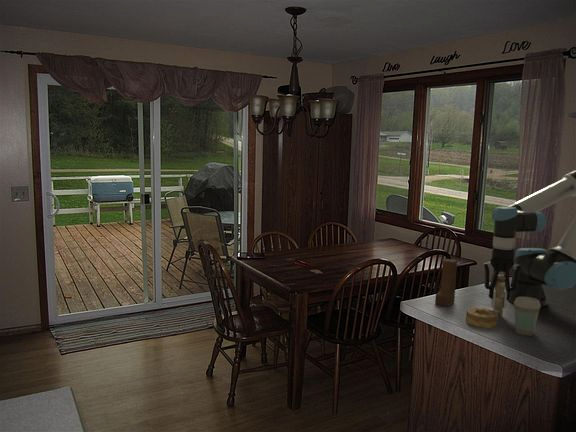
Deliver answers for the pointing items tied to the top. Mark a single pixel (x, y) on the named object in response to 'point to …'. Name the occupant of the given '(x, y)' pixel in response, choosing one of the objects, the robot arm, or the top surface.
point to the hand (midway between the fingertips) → (498, 306)
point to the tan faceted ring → (481, 317)
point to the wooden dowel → (499, 295)
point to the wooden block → (447, 283)
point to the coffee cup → (526, 315)
